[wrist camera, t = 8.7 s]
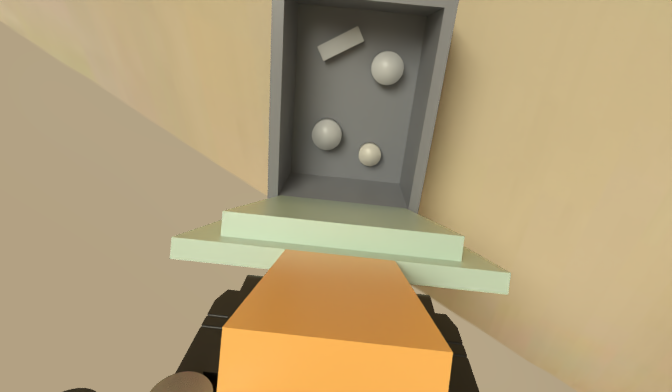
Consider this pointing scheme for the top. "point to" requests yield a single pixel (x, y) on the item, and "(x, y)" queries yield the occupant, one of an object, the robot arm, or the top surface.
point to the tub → (355, 97)
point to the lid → (336, 295)
